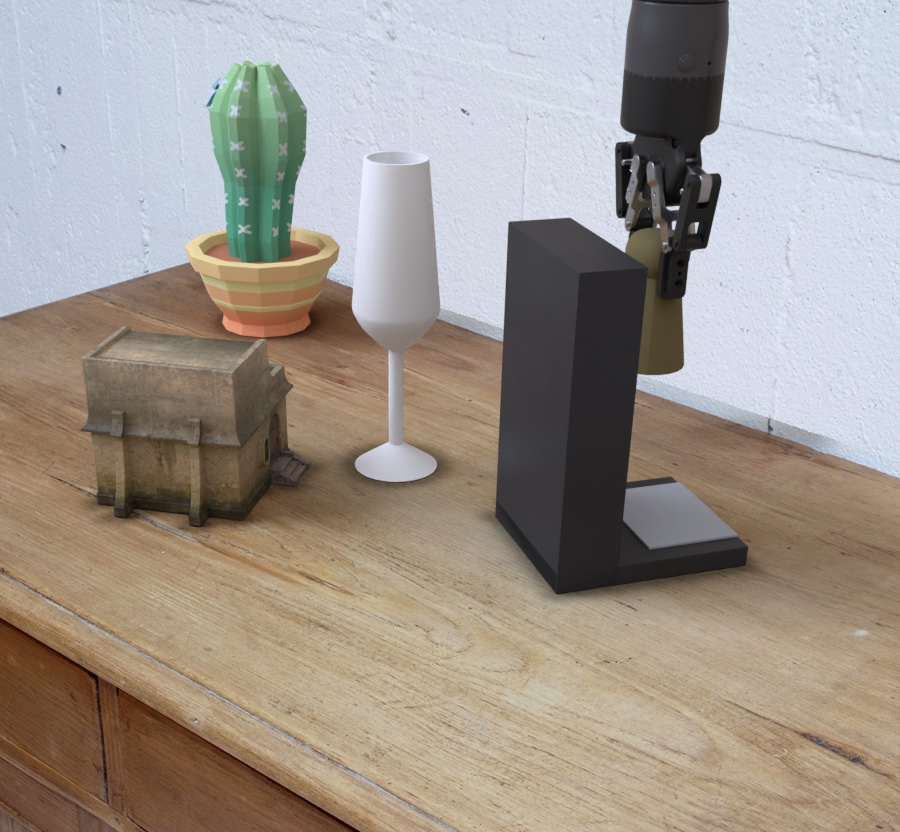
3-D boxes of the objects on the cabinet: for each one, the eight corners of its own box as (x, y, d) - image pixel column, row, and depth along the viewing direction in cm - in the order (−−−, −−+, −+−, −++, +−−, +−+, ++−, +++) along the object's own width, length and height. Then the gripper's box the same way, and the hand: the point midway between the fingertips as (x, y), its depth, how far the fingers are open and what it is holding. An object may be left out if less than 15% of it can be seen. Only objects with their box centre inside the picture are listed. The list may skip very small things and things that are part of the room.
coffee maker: (669, 493, 103) (702, 208, 91) (745, 565, 93) (794, 256, 82) (495, 516, 98) (508, 221, 87) (556, 594, 89) (579, 272, 78)
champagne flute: (371, 442, 110) (369, 144, 98) (448, 454, 108) (455, 152, 96) (341, 474, 104) (334, 163, 92) (421, 487, 103) (425, 171, 90)
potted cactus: (342, 299, 143) (336, 52, 130) (341, 348, 129) (335, 78, 117) (198, 299, 142) (179, 50, 129) (182, 348, 128) (159, 76, 116)
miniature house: (263, 534, 95) (254, 385, 89) (82, 512, 98) (62, 366, 92) (322, 451, 108) (317, 316, 102) (160, 434, 110) (147, 301, 104)
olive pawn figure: (625, 345, 114) (636, 217, 108) (693, 357, 111) (707, 226, 106) (601, 367, 109) (610, 234, 103) (671, 380, 107) (685, 244, 101)
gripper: (768, 78, 93) (738, 310, 102) (676, 49, 105) (657, 260, 114) (672, 82, 91) (651, 319, 100) (590, 53, 103) (577, 267, 112)
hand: (654, 286), depth 107 cm, fingers closed on olive pawn figure, 5 cm apart
